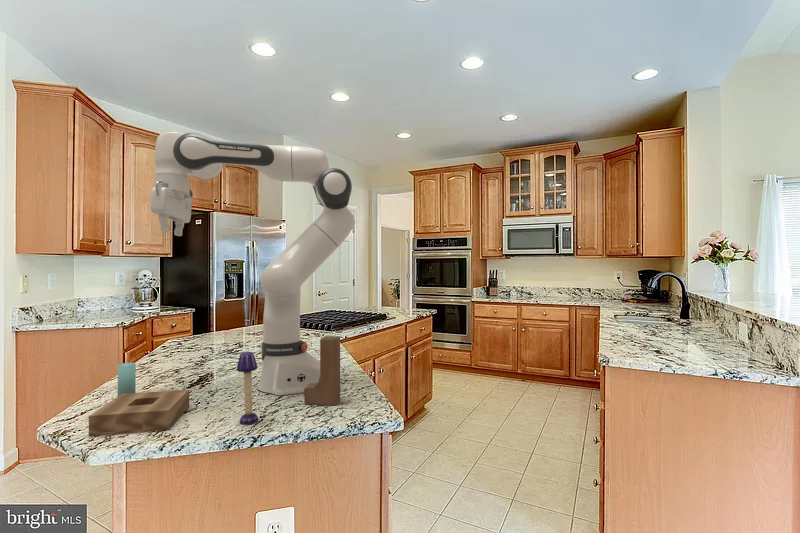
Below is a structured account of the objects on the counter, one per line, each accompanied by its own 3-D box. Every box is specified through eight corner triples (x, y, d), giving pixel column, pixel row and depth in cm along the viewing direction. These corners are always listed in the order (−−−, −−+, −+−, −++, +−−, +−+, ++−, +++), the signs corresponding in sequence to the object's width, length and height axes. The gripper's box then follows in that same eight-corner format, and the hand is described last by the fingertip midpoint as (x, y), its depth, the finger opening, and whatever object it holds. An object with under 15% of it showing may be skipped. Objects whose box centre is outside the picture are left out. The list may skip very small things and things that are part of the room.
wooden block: (303, 404, 108) (303, 338, 108) (309, 399, 113) (309, 335, 113) (335, 406, 107) (335, 339, 107) (340, 400, 112) (340, 336, 112)
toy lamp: (250, 426, 94) (250, 355, 94) (232, 424, 94) (232, 354, 95) (261, 418, 98) (261, 350, 98) (244, 417, 99) (244, 350, 99)
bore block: (189, 406, 107) (189, 389, 107) (168, 429, 92) (168, 410, 92) (122, 411, 104) (122, 393, 104) (88, 436, 88) (88, 415, 88)
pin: (138, 401, 111) (138, 362, 111) (131, 406, 107) (131, 365, 107) (121, 403, 110) (121, 363, 110) (114, 408, 106) (114, 366, 106)
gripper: (169, 178, 109) (169, 229, 109) (195, 194, 129) (195, 237, 129) (143, 178, 108) (143, 229, 107) (174, 194, 128) (174, 237, 128)
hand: (172, 233), depth 118 cm, fingers open, 8 cm apart
